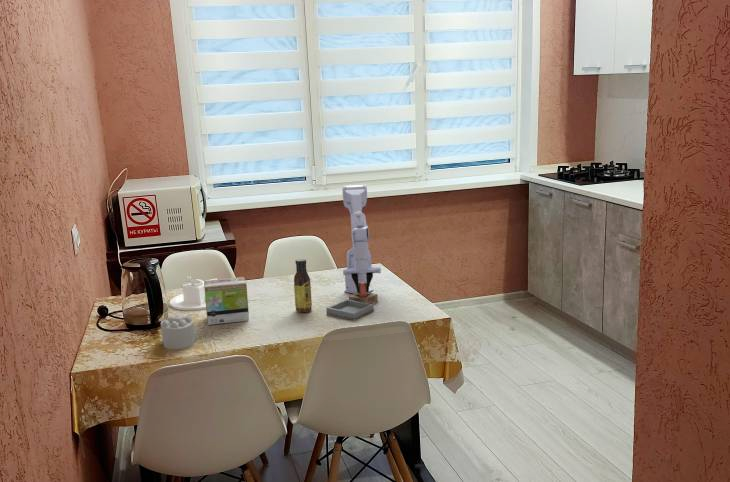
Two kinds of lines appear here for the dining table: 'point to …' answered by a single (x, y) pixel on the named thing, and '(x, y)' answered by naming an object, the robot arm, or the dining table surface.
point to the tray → (350, 309)
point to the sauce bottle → (302, 287)
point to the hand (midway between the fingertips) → (362, 291)
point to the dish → (191, 296)
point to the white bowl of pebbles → (178, 332)
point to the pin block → (365, 298)
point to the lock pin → (362, 289)
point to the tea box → (226, 300)
